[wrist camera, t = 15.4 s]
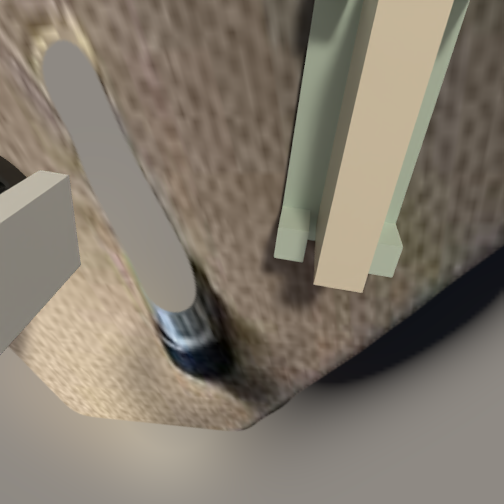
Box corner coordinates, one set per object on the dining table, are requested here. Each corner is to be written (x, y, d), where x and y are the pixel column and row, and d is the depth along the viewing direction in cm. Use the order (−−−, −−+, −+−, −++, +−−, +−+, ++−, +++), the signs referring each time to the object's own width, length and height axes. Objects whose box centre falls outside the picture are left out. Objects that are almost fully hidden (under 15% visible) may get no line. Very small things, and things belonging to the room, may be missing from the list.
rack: (384, 246, 38) (392, 277, 34) (279, 229, 39) (273, 257, 35) (484, -61, 26) (516, -73, 21) (327, -77, 26) (327, -92, 22)
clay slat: (354, 232, 37) (362, 292, 29) (315, 226, 37) (313, 284, 29) (428, -39, 26) (471, -55, 18) (373, -45, 26) (393, -64, 19)
